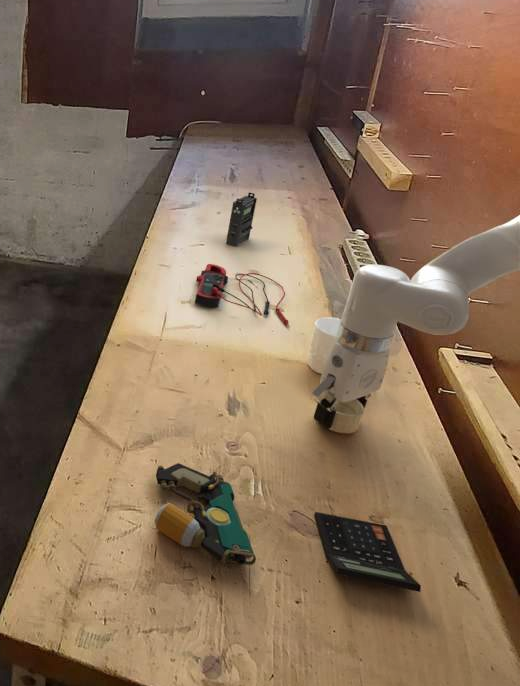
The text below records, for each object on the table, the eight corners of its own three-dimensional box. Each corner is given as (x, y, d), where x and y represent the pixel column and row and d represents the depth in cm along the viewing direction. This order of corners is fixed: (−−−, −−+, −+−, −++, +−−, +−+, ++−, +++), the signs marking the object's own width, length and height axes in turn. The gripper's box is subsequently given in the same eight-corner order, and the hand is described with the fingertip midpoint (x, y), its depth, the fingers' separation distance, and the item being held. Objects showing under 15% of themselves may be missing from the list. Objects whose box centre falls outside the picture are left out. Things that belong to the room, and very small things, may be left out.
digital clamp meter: (188, 293, 140) (203, 255, 159) (186, 308, 142) (201, 269, 161) (293, 312, 130) (295, 269, 149) (289, 329, 132) (292, 284, 151)
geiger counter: (237, 248, 174) (246, 202, 167) (223, 244, 177) (231, 199, 170) (252, 238, 180) (262, 194, 173) (239, 235, 183) (247, 191, 176)
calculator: (384, 529, 83) (390, 515, 82) (414, 603, 73) (422, 588, 72) (314, 515, 85) (318, 501, 84) (333, 585, 75) (339, 570, 74)
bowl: (332, 406, 107) (338, 387, 105) (366, 429, 102) (373, 409, 100) (306, 416, 105) (311, 397, 103) (339, 439, 99) (345, 420, 97)
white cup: (342, 359, 121) (354, 319, 116) (351, 381, 114) (365, 340, 109) (301, 354, 123) (311, 314, 118) (308, 375, 116) (319, 334, 112)
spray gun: (157, 467, 96) (253, 498, 90) (140, 541, 82) (251, 583, 76) (161, 448, 94) (259, 477, 88) (144, 520, 80) (259, 561, 74)
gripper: (346, 359, 89) (320, 444, 97) (421, 335, 95) (390, 417, 102) (306, 336, 95) (284, 417, 103) (378, 314, 101) (352, 393, 109)
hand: (337, 417), depth 103 cm, fingers closed on bowl, 6 cm apart
